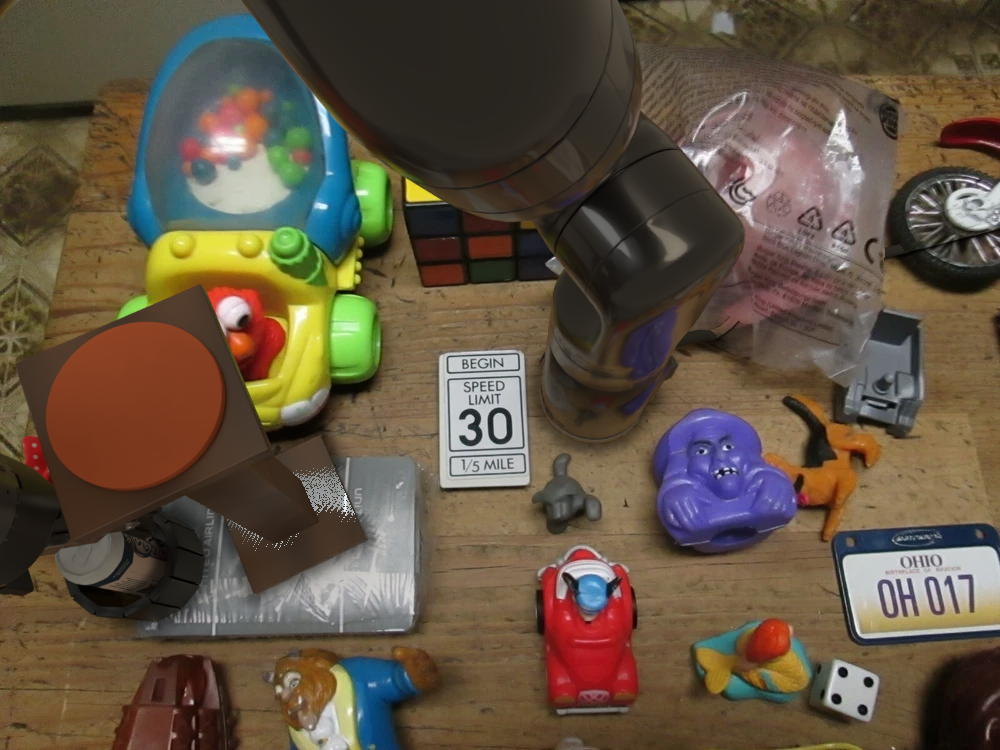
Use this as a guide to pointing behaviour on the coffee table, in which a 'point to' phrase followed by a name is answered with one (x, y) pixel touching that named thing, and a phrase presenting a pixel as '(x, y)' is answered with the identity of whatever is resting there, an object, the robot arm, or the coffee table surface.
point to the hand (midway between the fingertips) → (86, 552)
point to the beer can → (116, 563)
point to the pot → (169, 590)
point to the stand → (209, 464)
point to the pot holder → (135, 406)
